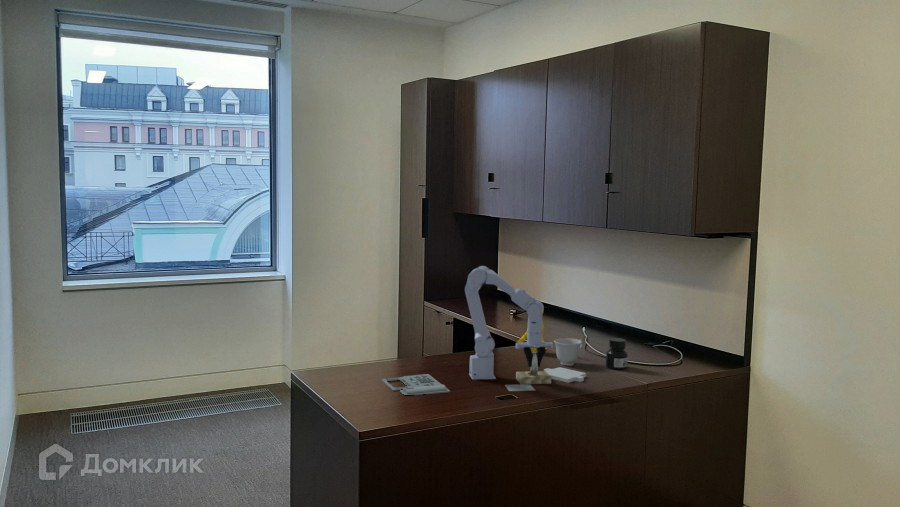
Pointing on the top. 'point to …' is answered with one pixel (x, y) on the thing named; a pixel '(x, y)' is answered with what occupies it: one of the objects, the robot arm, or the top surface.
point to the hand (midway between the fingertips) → (533, 366)
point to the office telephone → (418, 385)
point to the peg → (534, 363)
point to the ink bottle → (617, 354)
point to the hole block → (533, 377)
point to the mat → (520, 387)
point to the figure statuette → (526, 337)
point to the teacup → (568, 350)
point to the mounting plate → (565, 374)
